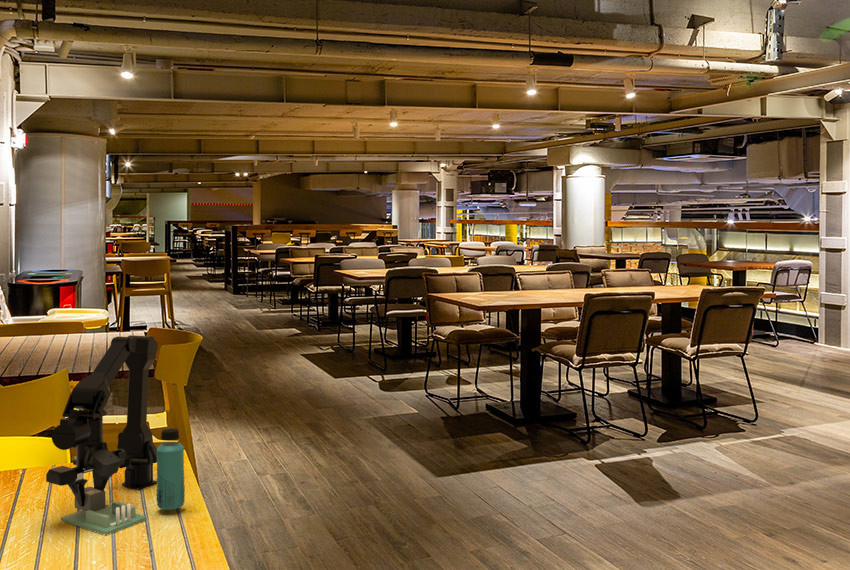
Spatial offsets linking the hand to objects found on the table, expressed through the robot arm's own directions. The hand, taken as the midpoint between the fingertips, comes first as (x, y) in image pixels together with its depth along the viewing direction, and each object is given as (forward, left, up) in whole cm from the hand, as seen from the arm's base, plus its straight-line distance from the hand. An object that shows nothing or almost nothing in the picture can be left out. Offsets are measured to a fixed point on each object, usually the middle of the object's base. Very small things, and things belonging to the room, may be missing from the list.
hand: (90, 503), depth 180 cm
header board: (0, +5, -3) cm, 6 cm away
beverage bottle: (-12, +13, -3) cm, 18 cm away
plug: (0, 0, -1) cm, 1 cm away
